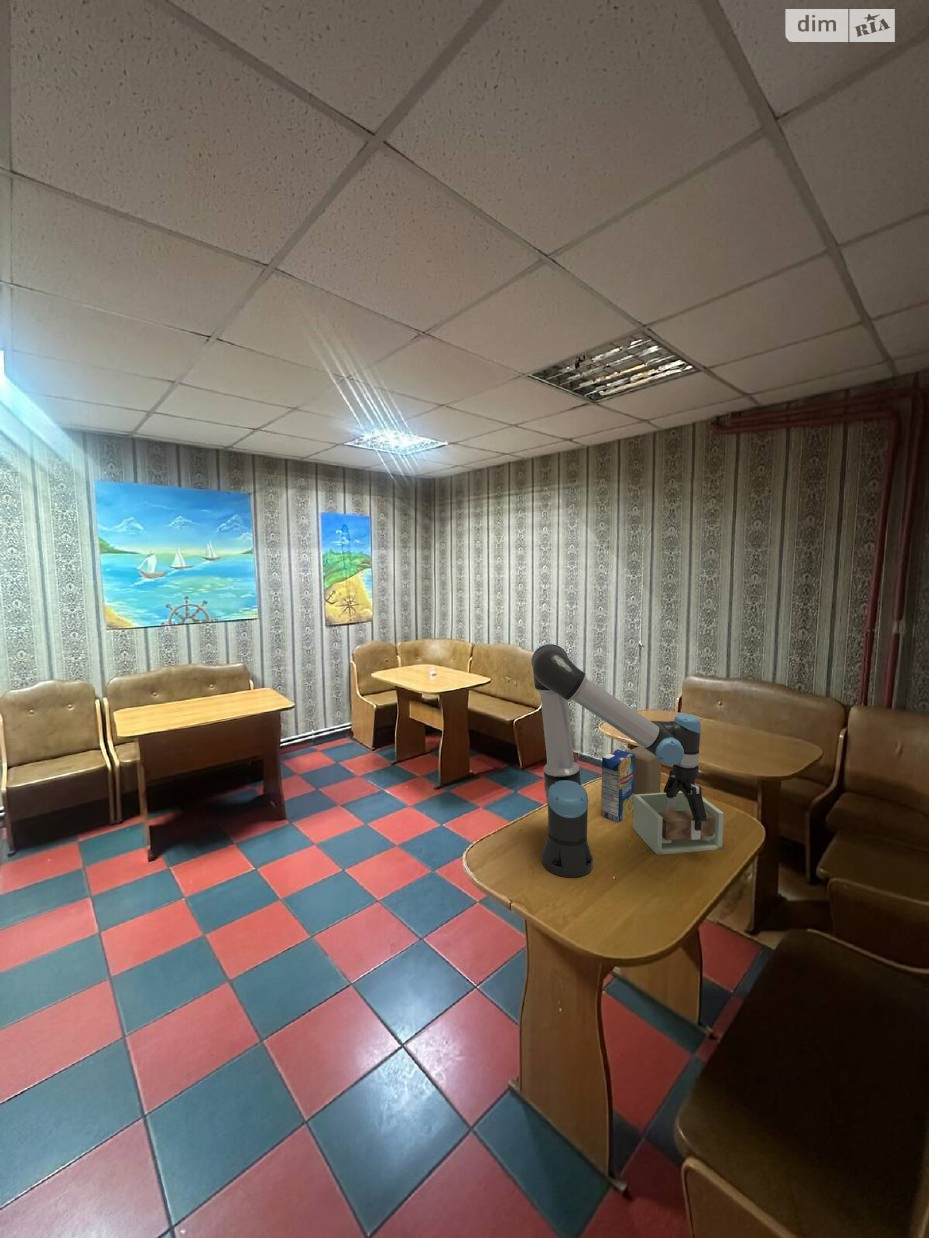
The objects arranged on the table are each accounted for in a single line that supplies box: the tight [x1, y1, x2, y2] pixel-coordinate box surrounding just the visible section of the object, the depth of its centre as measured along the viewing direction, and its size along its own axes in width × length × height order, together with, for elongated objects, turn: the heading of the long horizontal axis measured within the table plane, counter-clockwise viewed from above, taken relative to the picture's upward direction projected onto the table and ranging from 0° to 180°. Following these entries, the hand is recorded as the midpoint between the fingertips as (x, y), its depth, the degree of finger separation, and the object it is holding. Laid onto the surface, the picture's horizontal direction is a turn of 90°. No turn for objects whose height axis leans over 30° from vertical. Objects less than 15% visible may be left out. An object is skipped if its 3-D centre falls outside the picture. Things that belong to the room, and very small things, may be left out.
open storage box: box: [632, 791, 725, 856], centre depth 163 cm, size 22×16×12 cm
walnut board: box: [658, 810, 714, 840], centre depth 159 cm, size 16×6×6 cm, turn 98°
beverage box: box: [600, 749, 635, 824], centre depth 178 cm, size 7×11×22 cm, turn 134°
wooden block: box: [626, 746, 662, 795], centre depth 187 cm, size 10×10×20 cm
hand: (682, 827), depth 159 cm, fingers open, 13 cm apart
